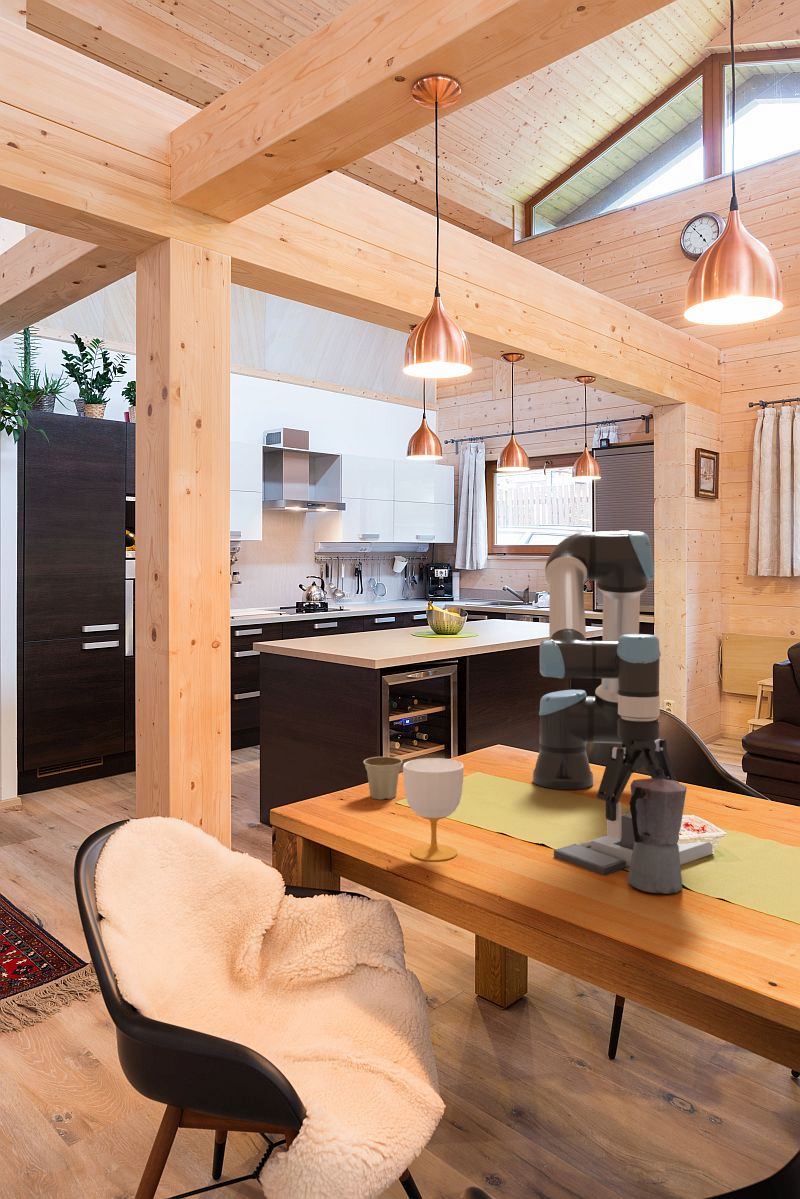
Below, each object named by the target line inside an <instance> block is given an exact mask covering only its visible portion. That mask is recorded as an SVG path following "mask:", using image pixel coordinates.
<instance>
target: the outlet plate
mask: <svg viewBox="0 0 800 1199" xmlns="http://www.w3.org/2000/svg"><path fill="white" fill-rule="evenodd" d="M593 839H594V840H593ZM593 839H590V840H591V846H590V849H592V850H595V851H598V852H601V853H603V854H606V855H609V856H612V857H615V858H618V859H621V860H624V861H626V867H629V868H630V863H631V857H632V852H633V850H631V849H628V848H625V847H622V846H621V839H616V838H613V837H610V836H607V835H603V836H601V838H600V837H598V838H593ZM678 846H679V856H680V866H682V865H685V864H687V863H690V862H692V861H693V862H694V861H697V860H699V859H701V858H704V857H707V856H710V855H713V843H712V844H711V843H710V842H698V843H688V844H678Z"/></svg>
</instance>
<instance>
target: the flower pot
mask: <svg viewBox="0 0 800 1199" xmlns="http://www.w3.org/2000/svg"><path fill="white" fill-rule="evenodd" d="M363 764H364V767H365V770H366V772H367V774H366V776H367V780H368V787H369V788H368V789H369V794H370V797H371V798H372V799H375V800H379V801H383V800H385V799H387V800H392V799H394V798H396V796H397V792H398V790H397V789H398V783H399V777H400V776H399V775H400V769H401V767H402V764H403V759H401V758H398V757H393V756H373V757H369V758H366V759H364V760H363Z"/></svg>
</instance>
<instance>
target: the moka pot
mask: <svg viewBox="0 0 800 1199" xmlns="http://www.w3.org/2000/svg"><path fill="white" fill-rule="evenodd" d="M663 774H664V770H662V769H655V778H652V777H651V778H640V779H638V778H637V779H633V781H632V782H631V783H630V793H631V794H630V795H631V797H630V800H629V811H630V812H631V816H632V824H633V830H634V837H635V841H634V846H633V852H632V857H631V863H630V867H629V869H628V873H627V882H628V884H629V885H630V886H631V887H633V888H635V889H637V890H640V891H642V892H646V893H651V894H661V895H665V894H666V895H668V894H670V895H671V894H677V893H679V892H680V891H682V889H683V881H682V869H681V868H682V867H681V865H680V856H679V846H678V844H677V843H678V840H679V832H681V826H682V820H683V814H684V809H685V808H684V807H685V801H686V796H687V790H688V789H687V786H686V785H684V784H680V782H679V781H674V780H665V779H662V778H663Z"/></svg>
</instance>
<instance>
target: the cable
mask: <svg viewBox="0 0 800 1199" xmlns="http://www.w3.org/2000/svg"><path fill="white" fill-rule="evenodd" d="M601 837H602V836H601ZM601 837H599V838H601ZM594 839H595V838H593V839H590V840H586V841H584V842H580V843H577V844H578V845H580V846H583V847H586V848H589V847H591V840H594Z"/></svg>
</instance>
